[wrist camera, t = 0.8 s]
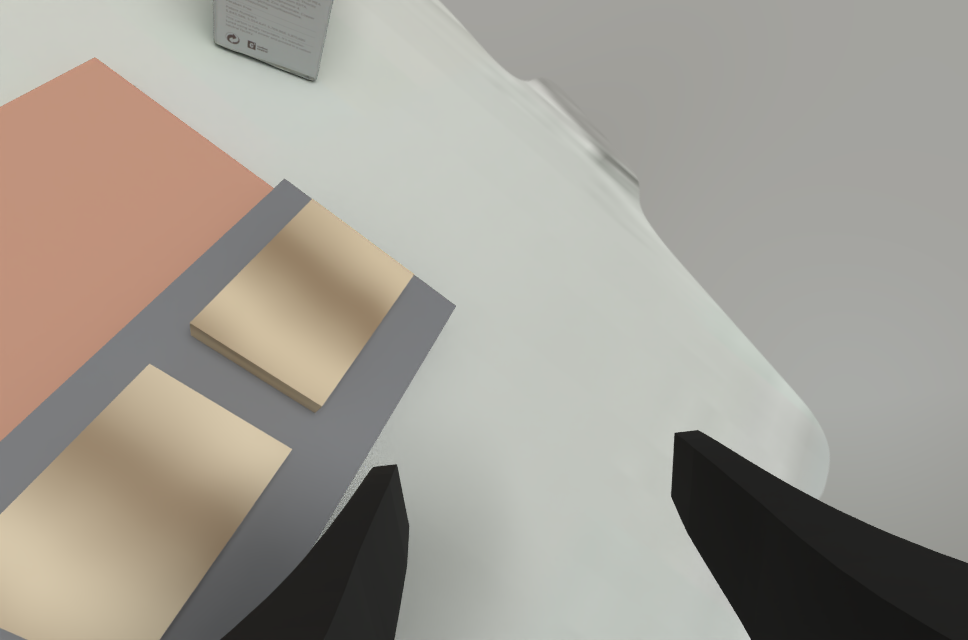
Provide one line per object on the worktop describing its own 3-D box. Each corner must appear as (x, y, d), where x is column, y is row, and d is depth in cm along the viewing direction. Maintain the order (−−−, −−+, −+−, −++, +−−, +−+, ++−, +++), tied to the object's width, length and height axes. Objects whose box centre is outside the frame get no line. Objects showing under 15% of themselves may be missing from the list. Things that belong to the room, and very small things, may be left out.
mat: (-132, 577, 15) (-144, 580, 14) (-532, 405, 13) (-562, 401, 12) (274, 196, 26) (276, 190, 25) (97, 66, 23) (95, 57, 23)
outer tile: (314, 413, 21) (321, 406, 20) (190, 335, 20) (189, 322, 18) (403, 286, 25) (414, 274, 24) (306, 215, 24) (312, 198, 23)
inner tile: (135, 669, 16) (128, 683, 14) (-53, 586, 14) (-79, 594, 13) (286, 453, 20) (292, 449, 19) (153, 373, 19) (149, 363, 17)
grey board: (197, 719, 17) (196, 741, 16) (-122, 582, 15) (-163, 591, 13) (441, 317, 28) (456, 305, 26) (279, 199, 26) (284, 178, 24)
